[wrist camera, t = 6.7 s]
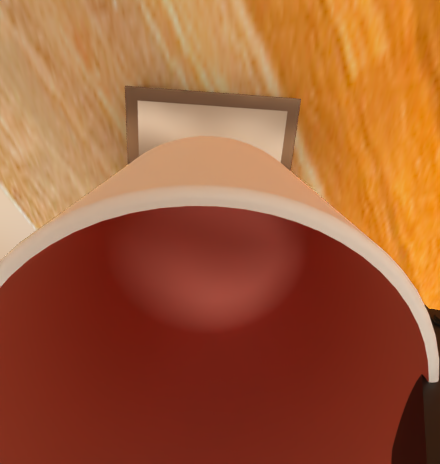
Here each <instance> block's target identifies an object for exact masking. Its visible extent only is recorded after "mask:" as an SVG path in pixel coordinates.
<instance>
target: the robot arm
mask: <svg viewBox="0 0 440 464" xmlns="http://www.w3.org/2000/svg"><path fill="white" fill-rule="evenodd" d="M425 307H426V309H427V311H428V313H429V316H430V319H431V323H432V326H433V329H434V332H435V335H436V341H437V348H438V355H439V381H438V382H428V381H427V380H426V378H425V377H424V376H423V375H422V374H421V376H420V377H419V378H418V380H417V381H416V383H415V385H414V387H413V389H412V391H411V393H410V395H409V398H408V400H407V403H406V405H405V408H404V411H403V414H402V416H401V419H400V423H399V426H398V429H397V433H396V436H395V440H394V444H393V448H392V458H391V464H440V310H435V309H429V308H428V307H427V306H426V305H425Z"/></svg>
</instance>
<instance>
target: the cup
mask: <svg viewBox="0 0 440 464" xmlns="http://www.w3.org/2000/svg"><path fill="white" fill-rule="evenodd" d="M421 374H422V375H423V376H424V377H425V378H426V380H427V381H428V382H438V381H439V355H438V348H437V341H436V335H435V332H434V329H433V326H432V323H431V319H430V316H429V313H428V311H427V309H426V307H425V305H424V303H423V301H422V299H421V297H420V295H419V293H418V291H417V290H416V288H415V287H414V285H413V284H412V283H411V281H410V280H409V278H408V277H407V275H406V274H405V273H404V271H403V270H402V269H401V268H400V267H399V266H398V264H397V263H396V262H395V261H394V260H393V259H392V258H391V257H390V256H389V255H388V254H387V253H386V252H385V251H384V250H383V249H382V248H380V247H379V246H378V245H377V244H376V243H375V242H373V241H372V240H371V239H370V238H369V237H367V236H366V235H365V234H364V233H363V232H362V231H360V230H359V229H358V228H357V227H356V226H355V225H353V224H352V223H351V222H350V221H349V220H348V219H346V218H345V217H344V216H343V215H342V214H340V213H339V212H338V211H337V210H336V209H335V208H333V207H332V206H331V205H330V204H329V203H328V202H326V201H325V200H324V199H323V198H322V197H320V196H319V195H318V194H317V193H316V192H315V191H313V190H312V189H311V188H310V187H309V186H308V185H306V184H305V183H304V182H303V181H302V180H300V179H299V178H298V177H297V176H296V175H294V174H293V173H292V172H291V171H290V170H289V169H287V168H286V167H285V166H284V165H283V164H281V163H280V162H279V161H278V160H276V159H275V158H274V157H272V156H271V155H269V154H268V153H266V152H264V151H263V150H261V149H259V148H257V147H254V146H252V145H250V144H247V143H244V142H241V141H238V140H234V139H230V138H225V137H216V136H195V137H187V138H181V139H177V140H173V141H170V142H167V143H164V144H161V145H159V146H157V147H155V148H153V149H151V150H149V151H147V152H145V153H144V154H142V155H141V156H139V157H138V158H136V159H135V160H134V161H132V162H131V163H129V164H128V165H127V166H125V167H124V168H123V169H121V170H120V171H118V172H117V173H116V174H114V175H113V176H112V177H110V178H109V179H107V180H106V181H105V182H103V183H102V184H100V185H99V186H98V187H96V188H95V189H94V190H92V191H91V192H89V193H88V194H87V195H85V196H84V197H82V198H81V199H80V200H78V201H77V202H75V203H74V204H73V205H71V206H70V207H68V208H67V209H66V210H64V211H63V212H62V213H60V214H59V215H57V216H56V217H55V218H53V219H52V220H50V221H49V222H48V223H46V224H45V225H43V226H42V227H41V228H39V229H38V230H36V231H35V232H34V233H32V234H31V235H30V236H28V237H27V238H25V239H24V240H23V241H21V242H20V243H19V244H18V245H17V246H15V247H14V248H13V249H12V250H11V251H10V252H9V253H8V254H7V255H6V256H5V257H4V258H3V259H2V260H1V261H0V464H391V458H392V448H393V444H394V440H395V436H396V433H397V429H398V426H399V423H400V419H401V416H402V414H403V411H404V408H405V405H406V403H407V400H408V398H409V395H410V393H411V391H412V389H413V387H414V385H415V383H416V381H417V380H418V378H419V377H420V376H421Z"/></svg>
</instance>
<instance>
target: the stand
mask: <svg viewBox="0 0 440 464" xmlns="http://www.w3.org/2000/svg"><path fill="white" fill-rule="evenodd" d="M125 100H126V127H127V153H128V164H129V163H131V162H132V161H134V160H135V159H136V158H138V157H139V156H141V155H142V154H144V153H145V152H147V151H149V150H151V149H153V148H155V147H157V146H159V145H161V144H164V143H167V142H170V141H173V140H177V139H181V138H187V137H195V136H216V137H225V138H230V139H234V140H238V141H241V142H244V143H247V144H250V145H252V146H254V147H257V148H259V149H261V150H263V151H264V152H266V153H268V154H269V155H271V156H272V157H274V158H275V159H276V160H278V161H279V162H280V163H281V164H283V165H284V166H285V167H286V168H287V169H289V170H291V163H292V156H293V150H294V143H295V136H296V129H297V122H298V116H299V109H300V102H301V99H295V98H282V97H268V96H255V95H241V94H228V93H214V92H201V91H187V90H173V89H160V88H146V87H133V86H125Z"/></svg>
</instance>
